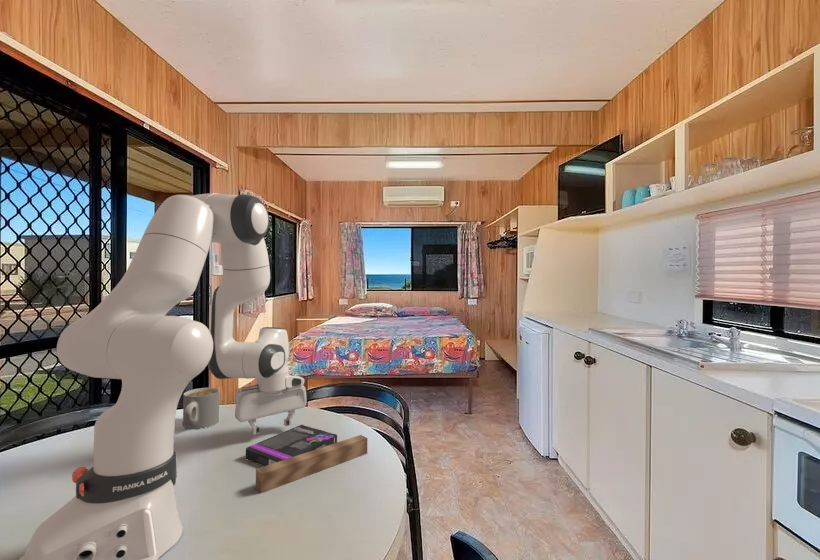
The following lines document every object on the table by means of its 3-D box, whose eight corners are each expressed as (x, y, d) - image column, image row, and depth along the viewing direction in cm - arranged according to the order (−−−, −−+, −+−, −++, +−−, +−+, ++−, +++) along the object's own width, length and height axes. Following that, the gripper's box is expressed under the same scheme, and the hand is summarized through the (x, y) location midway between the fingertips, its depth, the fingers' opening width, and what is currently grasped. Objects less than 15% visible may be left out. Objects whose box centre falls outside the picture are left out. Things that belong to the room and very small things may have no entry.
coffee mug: (198, 417, 124) (198, 386, 124) (225, 419, 122) (226, 388, 123) (166, 432, 111) (166, 399, 111) (196, 435, 109) (196, 400, 109)
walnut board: (260, 493, 79) (261, 474, 79) (255, 487, 81) (255, 469, 82) (367, 453, 98) (367, 438, 98) (360, 449, 101) (360, 434, 101)
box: (282, 477, 88) (338, 445, 105) (282, 462, 88) (338, 432, 105) (244, 461, 95) (302, 434, 112) (244, 447, 95) (302, 422, 112)
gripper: (239, 390, 100) (238, 442, 100) (309, 378, 114) (308, 423, 114) (231, 385, 105) (230, 435, 104) (299, 374, 119) (299, 418, 118)
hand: (272, 429), depth 109 cm, fingers open, 8 cm apart
